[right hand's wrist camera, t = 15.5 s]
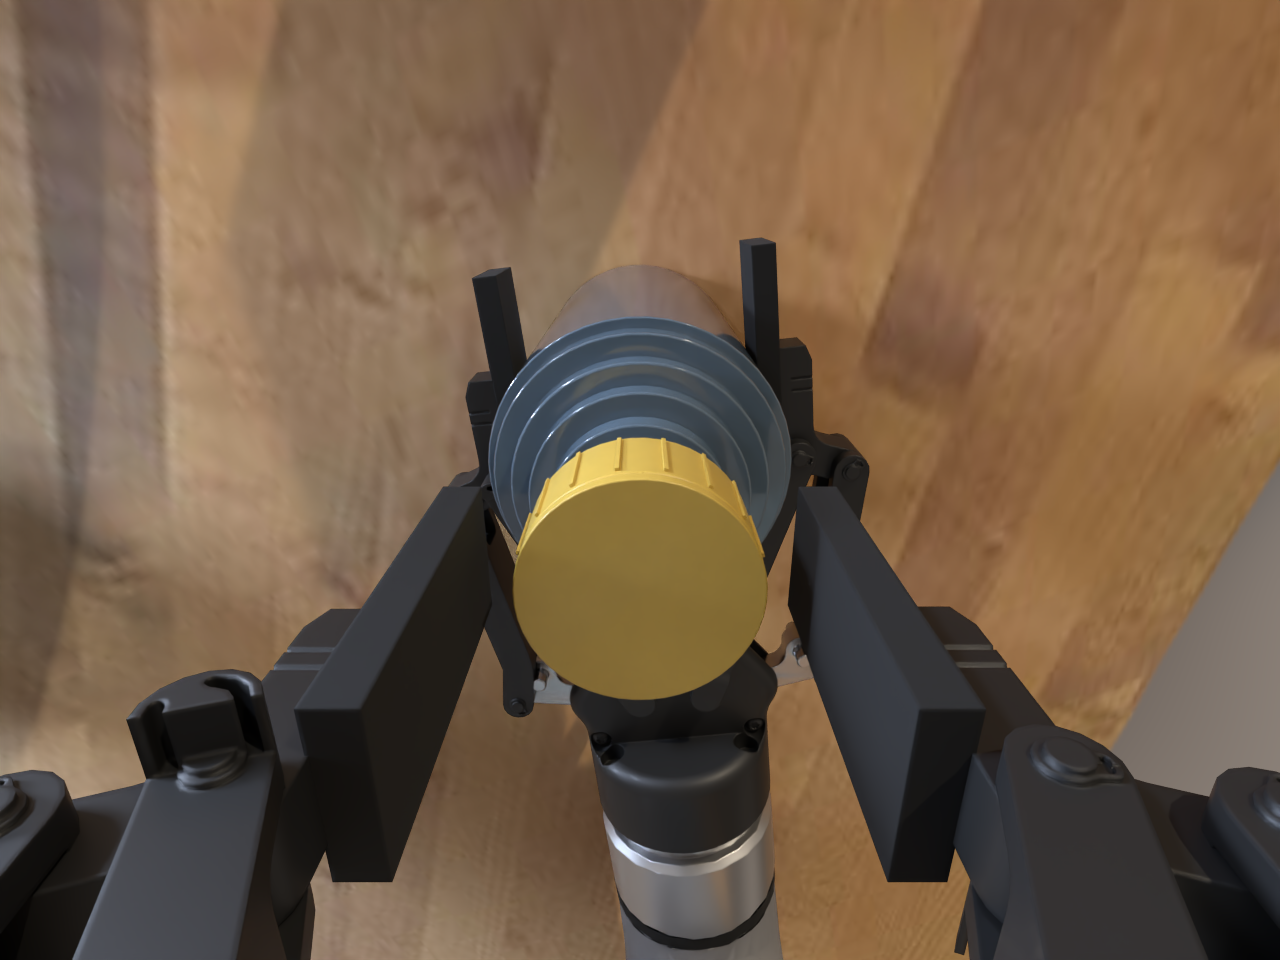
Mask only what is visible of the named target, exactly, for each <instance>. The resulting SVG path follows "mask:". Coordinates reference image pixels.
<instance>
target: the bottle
mask: <svg viewBox="0 0 1280 960" xmlns="http://www.w3.org/2000/svg"><path fill="white" fill-rule="evenodd" d="M619 437H621V438H622V439H627V438H652V439H661V438H666V441H670V442H674V443H677V444H680V445H683V446H685V447H688V448H690V449H692V450H694V451H696V452H698V453H700V454H702V453H704V454H706V457H707V459H709V460H710V461H712V462H713V463H714V464H716V465H717V466H718V467H719V468H720V469H721V470H722V471H723V472H724V473H725V474H726V475H727V476H728V478H729V479H730V480H731V481H733V480H734V481H735V482H736V485H737V488H738V491H739V494H740V495H741V498H742V500H743V502H744V505H745V507H746V510H747V513H748V516H750V515H751V516H752V519H753V522H754V525H755V528H756V531H757V534H758V537H759V539H760V542H761V544H762V542H763V541H764V539H765V538H766V536H767V535H768V533H769V531H770V530H771V528H772V527H773V525H774V523H775V521H776V519H777V517H778V515H779V513H780V511H781V508H782V506H783V503H784V500H785V497H786V494H787V490H788V485H789V480H790V474H791V459H792V457H791V443H790V436H789V431H788V426H787V422H786V419H785V416H784V413H783V411H782V408H781V405H780V402H779V401H778V399H777V397H776V395H775V393H774V391H773V390H772V388H771V386H770V384H769V383H768V381H767V380H766V378H765V377H764V375H763V374H762V373H761V371H760V370H759V368H758V367H757V365H756V364H755V362H754V361H753V359H752V358H751V356H750V355H749V353H748V352H747V350H746V349H745V348H744V346H743V345H742V343H741V342H740V340H739V339H738V337H737V336H736V334H735V333H734V331H733V330H732V328H731V327H730V326H729V324H728V323H727V321H726V320H725V318H724V317H723V315H722V314H721V312H720V311H719V309H718V308H717V306H716V305H715V304H714V302H713V301H712V300H711V298H710V297H709V296H708V295H707V294H706V293H705V292H704V291H703V290H702V289H701V288H700V287H699V286H698V285H696V284H695V283H694V282H693V281H691V280H690V279H688V278H686V277H684V276H683V275H681V274H679V273H676V272H674V271H671V270H669V269H665V268H661V267H658V266H650V265H629V266H623V267H618V268H615V269H611V270H608V271H606V272H604V273H601V274H599V275H597V276H595V277H594V278H592V279H591V280H589V281H587V282H586V283H585V284H583V285H582V286H581V287H580V288H579V289H577V290H576V292H575V293H574V294H573V295H572V296H571V297H570V298H569V299H568V301H567V302H566V304H565V305H564V306H563V308H562V309H561V311H560V312H559V314H558V315H557V317H556V318H555V320H554V321H553V323H552V324H551V326H550V327H549V329H548V330H547V331H546V333H545V334H544V336H543V337H542V339H541V340H540V342H539V343H538V345H537V346H536V348H535V349H534V351H533V352H532V354H531V355H530V357H529V358H528V359H527V361H526V362H525V364H524V365H523V367H522V368H521V370H520V371H519V373H518V374H517V376H516V377H515V379H514V380H513V382H512V383H511V385H510V386H509V387H508V389H507V391H506V393H505V395H504V397H503V399H502V401H501V403H500V405H499V407H498V410H497V413H496V416H495V419H494V422H493V425H492V430H491V436H490V441H489V459H488V463H489V473H490V482H491V486H492V490H493V494H494V498H495V501H496V503H497V506H498V508H499V511H500V513H501V516H502V518H503V519H504V521H505V523H506V525H507V527H508V528H509V530H510V532H511V533H512V535H513V537H514V538H515V540H516V541H517V542H518V544H519V542H520V539H521V536H522V533H523V530H524V527H525V524H526V521H527V518H528V516H529V513H533V510H534V508H535V505H536V502H537V499H538V498H539V496H540V494H541V492H542V490H543V487H544V484H545V481H546V479H547V478H549V479H551V477H552V476H553V475H554V474H555V473H556V472H557V471H558V470H559V469H560V468H561V467H562V466H563V465H564V464H566V463H567V462H568V461H570V460H571V459H572V458H574V457H575V456H576V453H578V452H579V451H580V452H581V453H582V452H584V451H586V450H588V449H590V448H592V447H595V446H597V445H600V444H603V443H607V442H610V441H614V440H617V438H619Z"/></svg>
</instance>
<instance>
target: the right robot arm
mask: <svg viewBox="0 0 1280 960" xmlns="http://www.w3.org/2000/svg"><path fill="white" fill-rule="evenodd" d="M491 607H492V598H491V587H490V576H489V565H488V553H487V542H486V531H485V520H484V509H483V498H482V487H443V488H442V489H441V491H440V492H439V494H438V495H437V497H436V498H435V500H434V501H433V503H432V504H431V506H430V507H429V509H428V510H427V512H426V513H425V515H424V516H423V518H422V519H421V521H420V522H419V524H418V525H417V527H416V528H415V530H414V531H413V532H412V534H411V535H410V537H409V538H408V540H407V541H406V543H405V544H404V546H403V547H402V549H401V550H400V552H399V553H398V555H397V556H396V558H395V559H394V561H393V562H392V564H391V565H390V567H389V568H388V570H387V571H386V573H385V574H384V576H383V577H382V579H381V580H380V581H379V583H378V584H377V586H376V587H375V589H374V590H373V592H372V593H371V595H370V596H369V598H368V599H367V601H366V602H365V604H364V605H363V607H362V608H361V609H330V610H329V611H327V612H326V613H324V614H323V615H321V616H320V617H318V618H317V619H315V620H314V621H312V622H311V623H309V624H308V625H306V626H305V627H304V628H303V629H302V630H301V632H300V633H299V634H298V635H297V637H296V638H295V639H294V641H293V642H292V643H291V644H290V646H289V647H288V651H287V652H284V653H283V655H282V656H281V657H280V659H279V660H278V661H277V662H276V664H275V665H274V670H270V671H269V673H268V674H267V675H266V677H265V678H264V679H263V680H262V682H261V681H260V680H259V679H257V678H256V677H255V676H254V675H253V674H251V673H249V672H244V671H239V670H234V669H229V670H215V671H207V672H204V673H200V674H196V675H192V676H189V677H185V678H182V679H180V680H178V681H176V682H174V683H171V684H169V685H167V686H165V687H163V688H161V689H159V690H157V691H156V692H155V693H153V694H152V695H150V696H149V697H148V698H146V699H145V700H143V701H142V702H141V703H139V704H138V705H137V707H136V708H135V709H134V710H133V712H132V713H131V714H130V716H129V717H128V718H127V719H126V720H127V723H128V726H129V729H130V732H131V735H132V738H133V741H134V744H135V747H136V750H137V753H138V756H139V759H140V762H141V765H142V768H143V771H144V774H145V776H146V781H145V782H144V783H141V784H137V785H134V786H130V787H126V788H121V789H117V790H112V791H108V792H104V793H99V794H95V795H90V796H86V797H82V798H77V799H73V800H72V799H71V796H70V794H69V791H68V789H67V786H66V784H65V781H64V780H63V779H62V778H60V777H59V776H57V775H56V774H55V773H53V772H48V771H37V770H29V771H23V772H18V773H12V774H6V775H3V776H0V960H310V959H311V949H312V939H313V929H314V919H315V905H314V898H313V893H312V889H311V884H310V882H311V879H312V877H313V875H314V873H315V871H316V869H317V867H318V865H319V863H320V861H321V859H322V857H323V854H324V852H325V850H326V855H327V859H328V864H329V868H330V872H331V877H332V881H333V882H392V881H393V879H394V876H395V873H396V870H397V868H398V865H399V862H400V859H401V856H402V854H403V851H404V848H405V845H406V843H407V840H408V837H409V834H410V831H411V829H412V826H413V823H414V820H415V818H416V815H417V812H418V809H419V806H420V804H421V801H422V798H423V795H424V793H425V790H426V787H427V784H428V782H429V779H430V776H431V773H432V770H433V768H434V765H435V762H436V759H437V757H438V754H439V751H440V748H441V745H442V743H443V740H444V737H445V734H446V732H447V729H448V726H449V723H450V720H451V718H452V715H453V712H454V709H455V707H456V704H457V701H458V698H459V696H460V693H461V690H462V687H463V684H464V682H465V679H466V676H467V673H468V671H469V668H470V665H471V662H472V659H473V657H474V654H475V651H476V648H477V646H478V643H479V640H480V637H481V634H482V632H483V629H484V626H485V623H486V621H487V618H488V615H489V612H490V610H491ZM788 607H789V610H790V612H791V615H792V618H793V621H794V623H795V626H796V629H797V632H798V635H799V637H800V640H801V643H802V646H803V648H804V651H805V654H806V657H807V659H808V662H809V665H810V668H811V671H812V673H813V676H814V679H815V682H816V684H817V687H818V690H819V693H820V696H821V698H822V701H823V704H824V707H825V709H826V712H827V715H828V718H829V721H830V723H831V726H832V729H833V732H834V734H835V737H836V740H837V743H838V745H839V748H840V751H841V754H842V757H843V759H844V762H845V765H846V768H847V770H848V773H849V776H850V779H851V782H852V784H853V787H854V790H855V793H856V795H857V798H858V801H859V804H860V807H861V809H862V812H863V815H864V818H865V820H866V823H867V826H868V829H869V831H870V834H871V837H872V840H873V843H874V845H875V848H876V851H877V854H878V856H879V859H880V862H881V865H882V868H883V870H884V873H885V876H886V879H887V881H888V882H947V881H948V877H949V872H950V868H951V864H952V859H953V855H954V850H955V849H956V851H957V853H958V855H959V857H960V859H961V861H962V863H963V865H964V868H965V870H966V872H967V874H968V876H969V878H970V884H969V889H968V893H967V897H966V901H965V905H964V909H963V913H962V917H961V921H960V926H959V930H958V934H957V939H956V945H955V951H954V952H955V953H958V954H962V955H964V953H965V949H966V945H967V941H968V947H969V957H970V960H1280V773H1278V772H1275V771H1269V770H1264V769H1258V768H1252V767H1244V768H1233V769H1228V770H1226V771H1225V772H1224V773H1222V774H1221V775H1220V776H1218V777H1217V779H1216V781H1215V784H1214V786H1213V789H1212V791H1211V794H1210V796H1209V797H1208V796H1203V795H1198V794H1194V793H1190V792H1185V791H1181V790H1177V789H1172V788H1168V787H1163V786H1159V785H1154V784H1150V783H1146V782H1143V781H1140V780H1136V779H1134V778H1133V776H1132V775H1131V773H1130V772H1129V770H1128V769H1127V767H1126V766H1125V764H1124V763H1123V761H1121V760H1120V759H1119V758H1118V757H1117V756H1115V755H1114V754H1113V753H1112V752H1110V751H1109V750H1108V749H1107V748H1106V747H1104V746H1103V745H1101V744H1099V743H1097V742H1095V741H1094V740H1092V739H1090V738H1088V737H1086V736H1084V735H1082V734H1080V733H1077V732H1074V731H1070V730H1067V729H1064V728H1060V727H1057V726H1055V725H1054V723H1053V722H1052V721H1051V719H1050V718H1049V717H1048V716H1047V714H1046V713H1045V712H1044V710H1043V709H1042V708H1041V707H1040V705H1039V704H1038V703H1037V702H1036V700H1035V699H1034V698H1033V696H1032V695H1031V694H1030V693H1029V691H1028V690H1027V689H1026V687H1025V686H1024V685H1023V684H1022V682H1021V681H1020V680H1019V679H1018V677H1017V676H1016V675H1015V673H1014V672H1013V671H1012V670H1011V668H1007V663H1006V662H1005V661H1004V659H1003V658H1002V657H1001V656H1000V654H999V653H998V652H997V650H993V645H992V644H991V643H990V641H989V640H988V639H987V638H986V636H985V635H984V634H983V632H982V631H981V630H980V629H979V627H978V626H977V625H976V624H975V623H973V622H972V621H970V620H969V619H967V618H966V617H964V616H963V615H961V614H960V613H958V612H957V611H955V610H954V609H952V608H951V607H917V605H916V604H915V602H914V601H913V599H912V598H911V596H910V595H909V593H908V592H907V590H906V589H905V587H904V586H903V584H902V583H901V582H900V580H899V579H898V577H897V576H896V574H895V573H894V571H893V570H892V568H891V567H890V565H889V564H888V562H887V561H886V559H885V558H884V556H883V555H882V553H881V552H880V550H879V549H878V547H877V546H876V544H875V543H874V541H873V540H872V538H871V537H870V535H869V534H868V533H867V531H866V530H865V528H864V527H863V525H862V524H861V522H860V521H859V519H858V518H857V516H856V515H855V513H854V512H853V510H852V509H851V507H850V506H849V504H848V503H847V501H846V500H845V498H844V497H843V495H842V494H841V492H840V491H839V489H838V488H837V487H798V498H797V509H796V520H795V531H794V542H793V553H792V564H791V575H790V587H789V598H788Z"/></svg>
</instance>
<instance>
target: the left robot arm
mask: <svg viewBox="0 0 1280 960" xmlns="http://www.w3.org/2000/svg"><path fill="white" fill-rule="evenodd" d="M740 258H741V276H742V294H743V312H744V330H745V348H746V350H747V352H748V353H749V355H750V356H751V358H752V359H753V361H754V362H755V364H756V365H757V367H758V368H759V370H760V371H761V373H762V374H763V375H764V377H765V378H766V380H767V381H768V383H769V384H770V386H771V388H772V390H773V391H774V393H775V395H776V397H777V399H778V401H779V402H780V405H781V408H782V411H783V413H784V416H785V419H786V422H787V426H788V431H789V436H790V443H791V457H792V459H791V474H790V480H789V485H788V490H787V494H786V497H785V500H784V503H783V506H782V508H781V511H780V513H779V515H778V517H777V519H776V521H775V523H774V525H773V527H772V528H771V530H770V531H769V533H768V535H767V536H766V538H765V539H764V541H763V542H762V544H761V545H762V548H763V551H764V554H765V557H763V561H764V565H765V569H766V574H767V577H768V575H769V572H770V570H771V567H772V565H773V563H774V560H775V558H776V556H777V553H778V551H779V549H780V546H781V544H782V542H783V539H784V537H785V535H786V532H787V530H788V528H789V525H790V523H791V521H792V518H793V516H794V514H795V511H796V509H797V498H798V487H806V485H807V483H808V481H809V478H810V476H811V475H814V479H813V485H812V487H837V488H838V489H839V491H840V492H841V494H842V495H843V497H844V498H845V500H846V501H847V503H848V504H849V506H850V507H851V509H852V510H853V512H854V513H855V515H856V516H857V518H858V519H859V521H860V518H861V513H862V508H863V503H864V498H865V492H866V487H867V482H868V477H869V465H868V463H867V461H866V460H865V458H864V457H863V456H862V455H861V454H860V453H859V451H858V450H857V449H856V448H855V447H854V446H853V444H852V443H851V442H850V441H849V440H848V438H846V437H845V436H844V435H842V434H838V433H836V434H830V435H829V434H824V433H820V432H817V431H815V430H814V427H813V390H812V359H811V356H810V354H809V352H808V350H807V348H806V345H805V344H803V343H802V342H801V341H800V340H799V339H798V338H797V337H795V338H786V339H779V316H778V289H777V263H776V243H775V242H772V241H769V240H767V239H764V238H755V239H746V240H740ZM472 281H473V286H474V291H475V296H476V302H477V307H478V312H479V317H480V322H481V327H482V332H483V338H484V343H485V348H486V353H487V358H488V363H489V368H490V371H488V372H479V373H477V374H476V375H475V376H474V377H473V378H472V379H471V380H470V381H469V382H468V387H467V393H466V402H467V406H468V411H469V416H470V421H471V424H472V430H473V435H474V440H475V444H476V449H477V454H478V459H479V467H478V468H476V469H474V470H472V471H470V472H462V473H460V474H458V475H456V476H455V478H454V479H453V480H452V482H451V483H450V485H449V486H448V487H482V498H483V509H484V520H485V531H486V542H487V553H488V565H489V576H490V587H491V598H492V607H491V610H490V612H489V615H488V618H487V621H486V623H485V626H484V627H485V630H486V632H487V634H488V637H489V639H490V641H491V643H492V646H493V648H494V650H495V653H496V655H497V657H498V659H499V662H500V664H501V666H502V669H503V706H504V709H505V711H506V712H507V713H508V714H510V715H511V716H514V717H525V716H527V715H529V714H530V713H531V712H532V710H533V706H534V703H548V704H566V705H571V707H572V709H573V711H574V712H575V714H576V715H577V716H578V717H579V718H580V719H581V720H582V722H583V723H584V724H585V726H586V728H587V730H588V733H589V739H590V744H591V750H592V755H593V761H594V766H595V772H596V778H597V783H598V789H599V795H600V800H601V804H602V807H603V819H604V824H605V829H606V835H607V840H608V845H609V851H610V856H611V861H612V866H613V872H614V878H615V883H616V887H617V893H618V897H619V901H620V909H621V916H622V924H623V931H624V939H625V951H626V960H783V955H782V949H781V942H780V935H779V926H778V915H777V905H776V895H775V884H774V879H775V872H774V863H775V853H774V837H773V822H772V807H771V794H770V769H769V752H768V734H767V710H768V707H769V705H770V703H771V701H772V700H773V698H774V696H775V694H776V692H777V687H778V686H782V685H786V684H791V683H795V682H799V681H803V680H807V679H811V678H814V676H813V673H812V671H811V668H810V665H809V662H808V659H807V657H806V654H805V651H804V648H803V646H802V643H801V640H800V637H799V635H798V632H797V629H796V626H795V623H794V622H790V623H788V624H787V625H786V630H785V631H784V632H783V634H782V638H781V645H780V647H779V648H778V649H777V650H776V651H775V652H773V653H770V654H768V653H767V652H766V651H765V650H764V649H763V648H762V647H761V646H760V645H759V644H758V643H757V642H756V641H755V640H754V639H753V641H752V643H751V644H750V646H749V647H748V648H747V650H746V651H745V653H744V654H743V655H742V656H741V657H740V658H739V659H738V660H737V661H736V662H735V663H734V665H733V666H731V667H730V668H729V669H728V670H726V671H725V672H724V673H723V674H721V675H720V676H718V677H717V678H715V679H714V680H712V681H710V682H709V683H707V684H705V685H703V686H701V687H699V688H697V689H694V690H692V691H689V692H686V693H683V694H680V695H676V696H671V697H667V698H660V699H652V700H629V699H618V698H614V697H609V696H604V695H600V694H597V693H594V692H591V691H588V690H586V689H584V688H581V687H579V686H577V685H575V684H573V683H571V682H570V681H568V680H566V679H565V678H563V677H561V676H560V675H559V674H557V673H556V672H555V671H554V670H552V669H551V668H550V667H549V666H548V665H547V664H546V663H545V662H544V661H543V660H542V659H541V658H540V657H539V656H538V655H537V654H536V652H535V651H534V650H533V649H532V647H531V646H530V644H529V643H528V641H527V639H526V638H525V636H524V634H523V632H522V630H521V627H520V625H519V623H518V620H517V617H516V613H515V609H514V604H513V593H512V586H513V574H514V569H515V564H514V561H513V559H512V556H511V554H510V551H509V549H508V546H507V544H506V541H505V539H504V536H503V534H502V531H501V529H500V526H499V524H498V521H497V519H496V516H497V517H498V518H499V520H500V521H501V523H502V524H503V525H504V527H505V528H506V530H507V531H508V532H509V534H510V535H511V537H512V538H513V539H514V541H515V542H516V544H517V545H518V542H517V541H516V540H515V538H514V537H513V535H512V533H511V532H510V530H509V528H508V527H507V525H506V523H505V521H504V519H503V518H502V516H501V513H500V511H499V508H498V506H497V503H496V501H495V498H494V494H493V490H492V486H491V482H490V473H489V463H488V459H489V441H490V436H491V430H492V425H493V422H494V419H495V416H496V413H497V410H498V407H499V405H500V403H501V401H502V399H503V397H504V395H505V393H506V391H507V389H508V387H509V386H510V385H511V383H512V382H513V380H514V379H515V377H516V376H517V374H518V373H519V371H520V370H521V368H522V367H523V365H524V364H525V362H526V361H527V358H526V353H525V347H524V341H523V335H522V330H521V324H520V318H519V312H518V307H517V301H516V295H515V289H514V284H513V278H512V272H511V267H508V268H499V269H491V270H488V271H486V272H484V273H482V274H480V275H478V276H476V277H474V278H472ZM494 513H495V514H496V516H495V514H494ZM814 680H815V679H814Z"/></svg>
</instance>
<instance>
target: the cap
mask: <svg viewBox="0 0 1280 960" xmlns="http://www.w3.org/2000/svg"><path fill="white" fill-rule="evenodd" d="M516 554H517V555H518V558H517V561H516V565H515V569H514V574H513V586H512V593H513V604H514V609H515V613H516V617H517V620H518V623H519V625H520V627H521V630H522V632H523V634H524V636H525V638H526V639H527V641H528V643H529V644H530V646H531V647H532V649H533V650H534V651H535V652H536V654H537V655H538V656H539V657H540V658H541V659H542V660H543V661H544V662H545V663H546V664H547V665H548V666H549V667H550V668H551V669H552V670H554V671H555V672H556V673H557V674H559V675H560V676H561V677H563V678H565V679H566V680H568V681H570V682H571V683H573V684H575V685H577V686H579V687H581V688H584V689H586V690H588V691H591V692H594V693H597V694H600V695H604V696H609V697H614V698H618V699H629V700H652V699H660V698H667V697H671V696H676V695H680V694H683V693H686V692H689V691H692V690H694V689H697V688H699V687H701V686H703V685H705V684H707V683H709V682H710V681H712V680H714V679H715V678H717V677H718V676H720V675H721V674H723V673H724V672H725V671H726V670H728V669H729V668H730V667H731V666H733V665H734V663H735V662H736V661H737V660H738V659H739V658H740V657H741V656H742V655H743V654H744V653H745V651H746V650H747V648H748V647H749V646H750V644H751V643H752V641H753V639H754V637H755V636H756V634H757V632H758V630H759V628H760V625H761V622H762V620H763V617H764V613H765V608H766V603H767V591H768V585H767V574H766V569H765V565H764V561H763V557H765V554H764V551H763V548H762V545H761V542H760V539H759V537H758V534H757V531H756V528H755V525H754V522H753V519H752V516H751V515H750V516H748V513H747V510H746V507H745V505H744V502H743V500H742V498H741V495H740V494H739V491H738V488H737V485H736V482H735V481H734V480H733V481H731V480H730V479H729V478H728V476H727V475H726V474H725V473H724V472H723V471H722V470H721V469H720V468H719V467H718V466H717V465H716V464H714V463H713V462H712V461H710V460H709V459H707V457H706V454H704V453H702V454H700V453H698V452H696V451H694V450H692V449H690V448H688V447H685V446H683V445H680V444H677V443H674V442H670V441H666V438H661V439H652V438H627V439H622V438H621V437H619V438H617V440H614V441H610V442H607V443H603V444H600V445H597V446H595V447H592V448H590V449H588V450H586V451H584V452H582V453H581V452H580V451H579V452H578V453H576V456H575V457H574V458H572V459H571V460H570V461H568V462H567V463H566V464H564V465H563V466H562V467H561V468H560V469H559V470H558V471H557V472H556V473H555V474H554V475H553V476H552V477H551V479H549V478H547V479H546V481H545V484H544V487H543V490H542V492H541V494H540V496H539V498H538V499H537V502H536V505H535V508H534V510H533V513H529V516H528V518H527V521H526V524H525V527H524V530H523V533H522V536H521V539H520V542H519V544H518V547H517V550H516Z"/></svg>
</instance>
